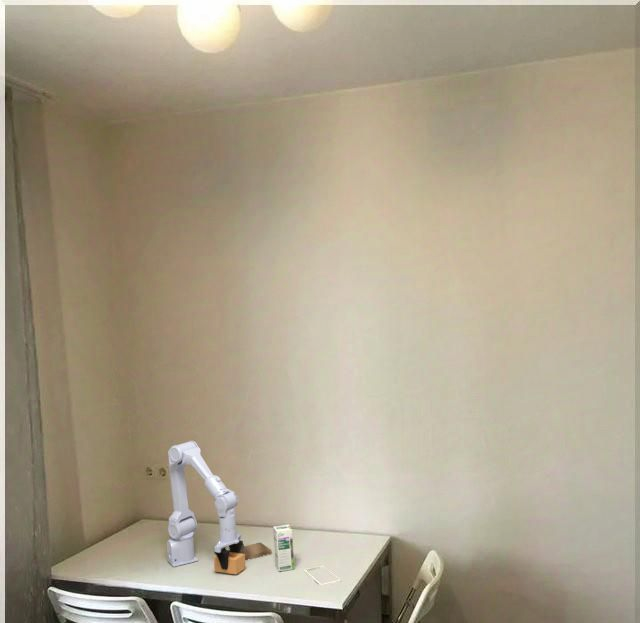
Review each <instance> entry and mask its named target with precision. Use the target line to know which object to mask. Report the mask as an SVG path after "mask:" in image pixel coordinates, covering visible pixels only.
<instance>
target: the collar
mask: <svg viewBox="0 0 640 623" xmlns="http://www.w3.org/2000/svg"><path fill="white" fill-rule="evenodd" d="M213 566H214V567H213V568H214V569H213V570H214V572H219V573H223V574H229V575H237V574H239V573H241V572H242V571H243V570H244V569H246V561H245V554H241V553H234V552H230V554H229V558H228V569H227V570H224V569H222V568H221V565H220V562H219V559H218V557H217V556H216V555H215V556H213Z"/></svg>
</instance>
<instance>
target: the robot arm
mask: <svg viewBox="0 0 640 623" xmlns="http://www.w3.org/2000/svg"><path fill="white" fill-rule="evenodd" d="M201 452H202V450H201V448H200V447H199V446H198V443H197V442H196V441H194V440H189V441H187V442H182V443H181V444H180V443H179V444H175V445H172V446H171V447H170V448H169V450H168V451H167V455H168V456H167V458H168V471H169V472H168V473H169V480H170V489H171V497H172V498H171V499H172V507H173V508H172V509H173V512H172V514H171V515H170V516H169V518H168V527H167V532H168V534H169V536H170V537H171V538H170V539H168V540H167V541H166V552H167V560H166V561H167V562H168V563H169V564H170V565H171V566H172V567H173V568H174V567H178V566H183V565H186V564H187V565H188V564H191V563H195V562H198V561H199V559H198V558H197V557H196V556H195V545H194V543H195V542H194V535H195V532H196V531H197V528H198V523H197V519H196V518H195V512H194V511H192V510H190V508H189V501H188V500H189V499H188V490H187V482H186V474H185V467H186V466H187V465H188V466H192V467H193V468H194V470H195V471H196V472H197V473H198V475H199V476H200V477H201V478H202V479H203V480H204V488H205V489H206V490H207V491H208V492H209V494H210V496H211V497H212V498H213V500H214V501H215V502H214V507H215V510H216V512H217V515H218V521H219V522H218V523H219V526H218V527H219V540H218V542H217V544H216V545H215V546H214V550H213V553H214V554H215V556H217V557H218V559H219V562H220V565H221V568H222V569H224V570H227V569H228V558H229V554H230V552H234V553H240V549H241V547H242V545H243V544H244V540H242V539H243V536H242V535H243V534H242V532H237V525H236V524H237V523H236V521H237V519H236V507H237V506H238V503H239V499H238V496H237V494H236V492H235V491H233V490H231V489H229V488H227V487H226V485H225V484H224V482H223V481H222V479H221V477H219V476H218V475H215V474H213V473H212V471H211V469H210V467H209V466H208V465H207V463H206V461H205V459H204V458H203V457H202V455H201ZM227 547H228V550H227V549H226V548H227ZM229 550H230V551H229Z"/></svg>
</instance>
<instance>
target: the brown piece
mask: <svg viewBox="0 0 640 623" xmlns="http://www.w3.org/2000/svg"><path fill="white" fill-rule="evenodd" d="M228 550H229V551H230V549H228ZM272 552H273V551H272V549H271V548H269V547H268V546H266V545H265V544H263V543H262V542H256V543H252V544H251V543H250V544H248V545H245V544H244V543H243V545H242V547H241V549H240V553H241V554H245V560H246V561H249V560H248V559H250V560H252V558H254V559H256V557H257V558H261V557H264V556H263V555H265V556H268V555H267V554H269V555H272V554H271V553H272ZM260 556H261V557H260Z"/></svg>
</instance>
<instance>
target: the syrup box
mask: <svg viewBox="0 0 640 623" xmlns="http://www.w3.org/2000/svg"><path fill="white" fill-rule="evenodd" d="M272 528H273V530H272V531H273V543H274V544H273V546H274V547H273V548H274V562H275V567H277V568H276V569H277V571H278V572H279V571H281V572H286V571H292V570H295V560H294V559H295V556H294V542H293V540H294V538H293V529H292V527H291V525H290V524H283V525H277V526H273V527H272Z"/></svg>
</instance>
